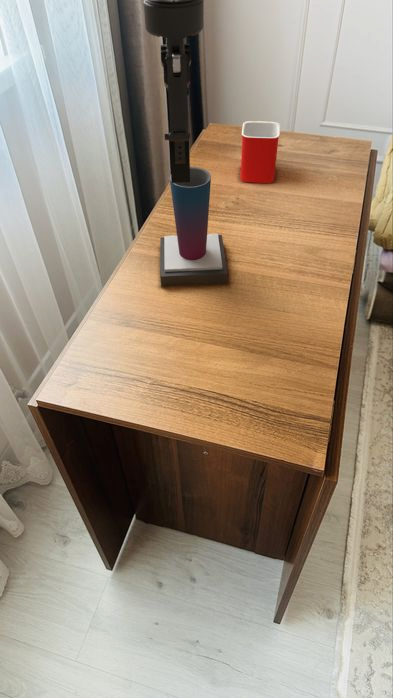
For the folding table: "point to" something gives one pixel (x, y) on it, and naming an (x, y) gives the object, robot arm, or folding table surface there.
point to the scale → (192, 264)
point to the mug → (259, 151)
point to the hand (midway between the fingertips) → (179, 159)
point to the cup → (192, 213)
